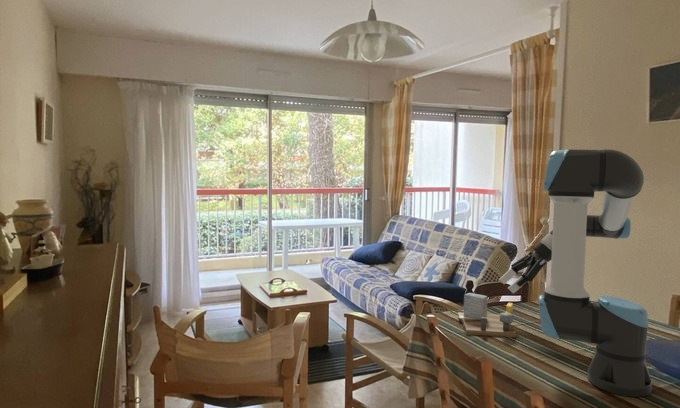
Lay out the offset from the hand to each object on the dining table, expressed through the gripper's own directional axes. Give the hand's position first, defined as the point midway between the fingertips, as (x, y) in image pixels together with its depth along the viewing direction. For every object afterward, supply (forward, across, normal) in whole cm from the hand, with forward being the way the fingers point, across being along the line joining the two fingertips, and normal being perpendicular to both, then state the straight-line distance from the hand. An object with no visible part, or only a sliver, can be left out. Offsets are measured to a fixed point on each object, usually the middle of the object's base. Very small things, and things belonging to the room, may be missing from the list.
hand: (505, 286), depth 172 cm
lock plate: (+16, -4, -5) cm, 17 cm away
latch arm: (+10, -9, -8) cm, 15 cm away
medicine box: (+17, +1, -1) cm, 17 cm away
